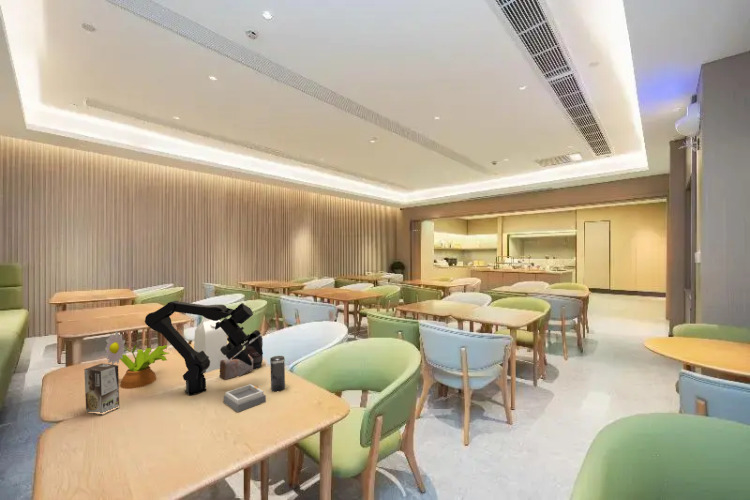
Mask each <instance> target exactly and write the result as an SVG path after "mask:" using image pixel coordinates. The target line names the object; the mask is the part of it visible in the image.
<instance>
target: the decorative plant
mask: <svg viewBox="0 0 750 500" xmlns="http://www.w3.org/2000/svg"><path fill="white" fill-rule="evenodd" d="M114 334H115V335H114ZM114 334H111V333H110V334H109V337H108V338H106V339H105V342H106V345H105V346H106V347H105V348H104V351H105V353H106V354H105V357H106V359H107V360H108V362H107V364H110V363H111V365H115V363H117V364H116V365H118V364H119V363H120V362H122V363H123V365H125V366H126V367H127V370H126V371H125V374H124V375H123V377H122V378H121V382H120V384H119V388H121V389H125V390H129V389H137V388H142V387H146V386H149V385H151V384H153V383H155V382H156V381H157V377H156V373H155V372H154V370H152V369H151V366H150V365H151V364H154V363H156V361H158V360H161V361H163V362H165V361H168V359H167V357H166V356H165V355H169V354H170V352H165V351H164V350H165V349H166V348H168V345H167V344H166V345H165V344H164V345H163V346H161V345H158V346H157V347H155V349H154V350H153V351H152V349H153V348H152V347H146V348H145V349H144V350H143V349H142V348H141V349H139V348H138V349H137V344H134V346H133V347H132V348H133V349H132V350H130V349H128V347H125V343H126V339H123V333H120V334H119V333H118V330H116V331H115V333H114ZM125 350H127V351H128V352H130V353H131V354H132V356H133V358H134V361H133V360H132V359H130V357H128V355H127V354H123V353H124V351H125ZM136 350H137V351H136ZM135 351H136V352H137V353H136V355H135ZM151 351H152V352H151Z"/></svg>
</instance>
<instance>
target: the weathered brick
mask: <svg viewBox="0 0 750 500" xmlns="http://www.w3.org/2000/svg"><path fill="white" fill-rule="evenodd" d="M248 355H249V354H248ZM249 357H250V359H251V361H252V365H251V366H250V365H248V364H246V363H244V362H243V361H241V360H239V359H233V360H232V358H233V357H232V358H231V359H230V360H229V359H228V358H227V359H222V360H221V362H220V369H219V378H221V379H223V380H224V379H226V380H228V378H229V379H232V378H235V377H236V376H239V377H241V376H243V375H245V373H246V374H248V373H247V372H249V373H251V371H253V370H254V369H253V359H252V357H251V356H250V355H249ZM231 377H232V378H231Z"/></svg>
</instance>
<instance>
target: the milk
mask: <svg viewBox="0 0 750 500" xmlns="http://www.w3.org/2000/svg"><path fill="white" fill-rule="evenodd" d="M201 319H202V320H201V322H200V323H199V324H198V326H196V328H195V330H194V336H193V337H194V338H193V339H194V344H193V349H194V350H195V351H197V352H201V351H204V353H205V354H206V355H207V356H208V357H209V358H208V359H209V360H210V366H209V367H208V369H206V372H205V373H204V374H206V373H210V372H213V371H216V370H220V362H221V360H222V359H227V357H226V355H223V354H222V352H221V351H220V349H221V348H222V347H223V346H226V345H227V344H228V340H227V338H228V336H227V334H226V333H225V332H224V331H223V330H222V328H221V327H220V328H218V329H216V330H215V326H216V323H217V322H221V321H222V320H221V319H220V320H218V321H213V320H210V319H207V318H205V317H203V316H202V318H201Z"/></svg>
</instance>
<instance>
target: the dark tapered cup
mask: <svg viewBox="0 0 750 500" xmlns="http://www.w3.org/2000/svg"><path fill="white" fill-rule="evenodd" d="M285 359H286V358H285V356H283V355H275V356H272V357H270V360H269V363H270V391H271V390H272V391H271V392H273V391H274V393H278V392H277V391H279V392H282V391H284V390H285V389H286V377H285V374H286V373H285V369H286V368H285V367H286V365H285V364H286V363H285V361H286V360H285Z"/></svg>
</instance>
